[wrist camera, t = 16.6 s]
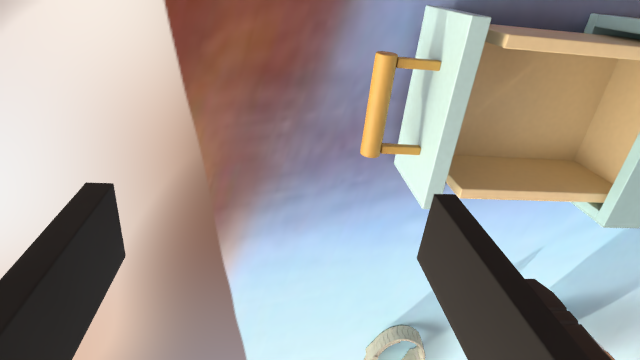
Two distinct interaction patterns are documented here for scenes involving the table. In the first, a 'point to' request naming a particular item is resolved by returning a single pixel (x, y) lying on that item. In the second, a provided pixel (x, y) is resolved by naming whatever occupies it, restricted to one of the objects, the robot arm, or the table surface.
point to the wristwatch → (395, 335)
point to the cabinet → (636, 173)
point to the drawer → (508, 110)
